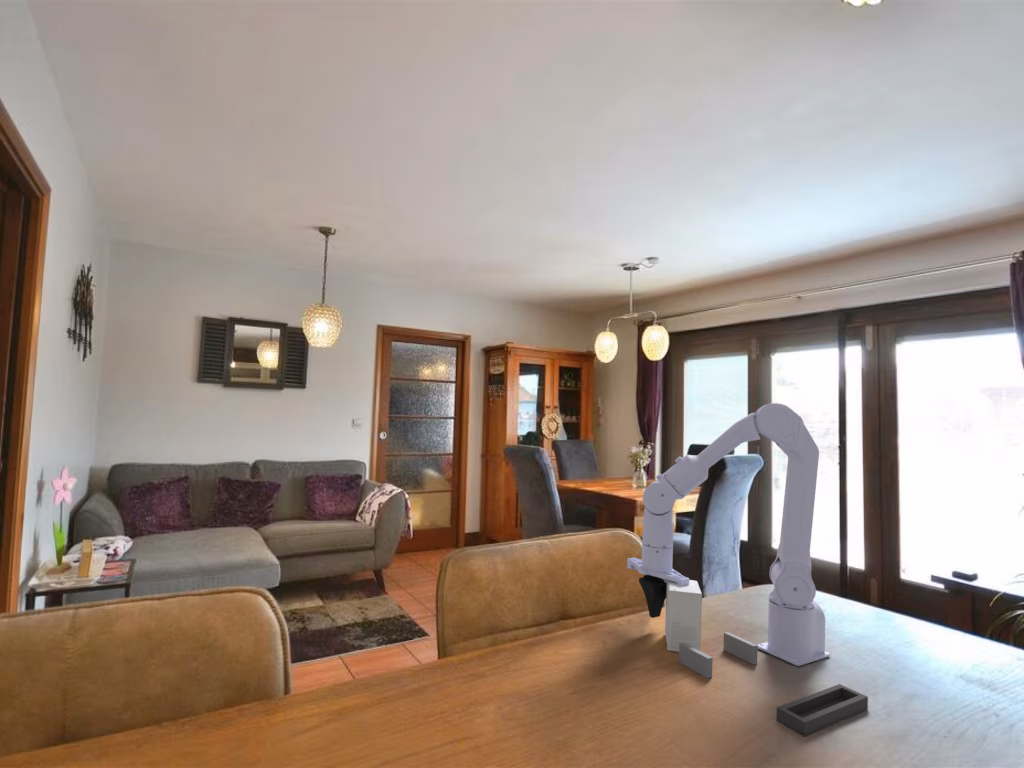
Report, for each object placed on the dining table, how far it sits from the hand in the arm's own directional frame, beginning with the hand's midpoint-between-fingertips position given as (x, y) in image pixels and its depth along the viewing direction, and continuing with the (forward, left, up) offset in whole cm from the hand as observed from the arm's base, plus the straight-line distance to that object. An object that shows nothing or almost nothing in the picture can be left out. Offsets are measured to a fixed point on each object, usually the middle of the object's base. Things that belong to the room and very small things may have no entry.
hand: (655, 616), depth 104 cm
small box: (0, +7, -3) cm, 7 cm away
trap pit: (-1, +32, -3) cm, 32 cm away
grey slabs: (0, +15, -3) cm, 15 cm away
